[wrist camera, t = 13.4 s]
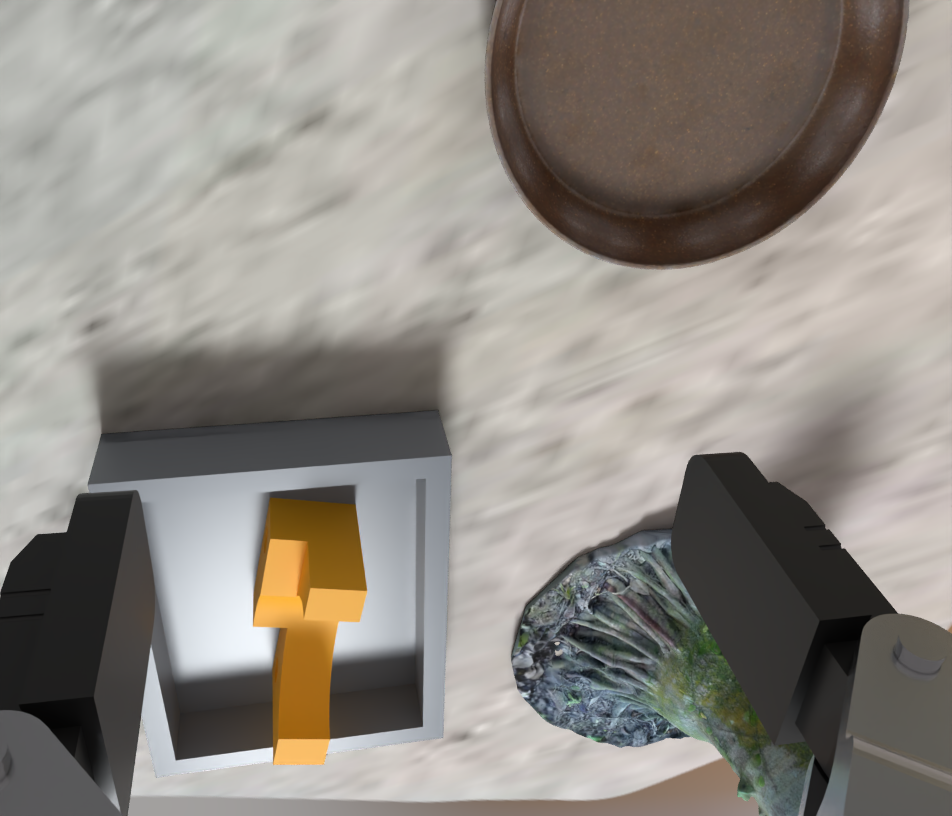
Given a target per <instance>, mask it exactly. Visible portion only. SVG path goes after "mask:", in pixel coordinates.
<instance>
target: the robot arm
mask: <svg viewBox="0 0 952 816" xmlns="http://www.w3.org/2000/svg"><path fill="white" fill-rule="evenodd" d="M671 552H672V559H673V563H674V566H675V569H676V572H677V574H678V576H679V578H680V579H681V581H682V583H683V585H684V586H685V588H686V590H687V592H688V593H689V595H690V597H691V599H692V601H693V602H694V604H695V606H696V608H697V609H698V611H699V613H700V615H701V617H702V618H703V620H704V622H705V624H706V625H707V627H708V629H709V631H710V632H711V634H712V636H713V638H714V640H715V641H716V643H717V645H718V647H719V648H720V650H721V652H722V654H723V656H724V657H725V659H726V661H727V663H728V664H729V666H730V668H731V670H732V671H733V673H734V675H735V677H736V679H737V680H738V682H739V684H740V686H741V687H742V689H743V691H744V693H745V695H746V696H747V698H748V700H749V702H750V703H751V705H752V707H753V709H754V710H755V712H756V714H757V716H758V718H759V719H760V721H761V723H762V725H763V726H764V728H765V730H766V732H767V734H768V735H769V737H770V739H771V741H772V742H773V744H774V746H776V745H784V744H791V743H798V742H805V741H806V742H807V744H808V746H809V747H810V749H811V751H812V752H813V756H812V758H811V761H810V763H809V766H808V769H807V773H806V778H805V783H804V788H803V794H802V799H801V804H800V809H799V814H798V816H952V634H951V633H950V632H948V631H947V630H945V629H943V628H942V627H940V626H938V625H936V624H934V623H932V622H930V621H927V620H924V619H922V618H918V617H915V616H911V615H905V614H898V613H897V612H896V610H895V609H894V608H893V607H892V606H891V604H890V603H889V602H888V601H887V599H886V598H885V597H884V596H883V595H882V593H881V592H880V591H879V590H878V588H877V587H876V586H875V585H874V584H873V582H872V581H871V580H870V579H869V577H868V576H867V575H866V574H865V573H864V571H863V570H862V569H861V568H860V566H859V565H858V564H857V563H856V562H855V560H854V559H853V558H852V557H851V555H850V554H849V553H848V552H847V551H846V549H842V548H841V543H840V542H839V541H838V540H837V538H836V537H835V536H834V535H833V534H832V532H831V531H830V530H829V529H828V530H826V528H825V524H824V523H823V521H822V520H821V519H820V518H819V516H818V515H817V514H816V513H815V512H814V510H813V509H812V508H811V507H810V505H809V504H808V503H807V502H806V501H805V500H803V499H802V498H800V497H799V496H797V495H796V494H794V493H793V492H791V491H790V490H788V489H787V488H786V487H784V486H783V485H781V484H780V483H778V482H769V483H768V481H767V480H766V479H765V477H764V476H763V475H762V474H761V472H760V471H759V470H758V468H757V467H756V466H755V465H754V463H753V462H752V461H751V460H750V458H749V457H748V456H747V455H746V454H744V453H742V452H733V453H717V454H702V455H694V456H693V457H691V459H690V460H689V462H688V464H687V468H686V472H685V476H684V480H683V485H682V489H681V494H680V498H679V502H678V507H677V511H676V516H675V520H674V524H673V529H672V534H671ZM0 595H1V596H0V816H127V815H128V808H129V801H130V794H131V786H132V779H133V772H134V765H135V757H136V750H137V743H138V735H139V728H140V721H141V713H142V706H143V699H144V692H145V684H146V677H147V670H148V662H149V655H150V648H151V640H152V633H153V626H154V617H155V586H154V576H153V569H152V563H151V557H150V551H149V545H148V539H147V533H146V526H145V520H144V514H143V508H142V502H141V498H140V495H139V492H138V491H137V490H128V491H113V492H98V493H82V494H79V495H78V496H77V498H76V501H75V505H74V508H73V512H72V516H71V519H70V523H69V526H68V530H67V532H64V533H51V534H37V535H36V536H35V537H34V538H33V539H32V540H31V541H30V542H29V544H28V545H27V546H26V547H25V548H24V549H23V550H22V551H21V552H20V553H19V554H18V555H17V556H16V557H15V558H14V559H13V560H12V561H11V563H10V566H9V569H8V572H7V575H6V577H5V580H4V583H3V586H2V589H1V592H0Z"/></svg>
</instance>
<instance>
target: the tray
mask: <svg viewBox="0 0 952 816" xmlns="http://www.w3.org/2000/svg"><path fill="white" fill-rule="evenodd" d="M451 462H452V455H451V452H450V448H449V445H448V442H447V438H446V435H445V432H444V428H443V425H442V422H441V418H440V415H439V412H438V410H436V411H422V412H408V413H394V414H380V415H366V416H352V417H337V418H323V419H309V420H295V421H281V422H267V423H253V424H239V425H225V426H210V427H196V428H182V429H168V430H154V431H140V432H126V433H112V434H101V438H100V442H99V445H98V449H97V452H96V456H95V460H94V463H93V467H92V471H91V474H90V478H89V481H88V489H89V493H98V492H113V491H128V490H137V491H138V492H139V495H140V498H141V502H142V508H143V514H144V520H145V526H146V533H147V539H148V545H149V551H150V557H151V563H152V569H153V576H154V586H155V617H154V626H153V633H152V640H151V648H150V655H149V662H148V670H147V677H146V684H145V692H144V699H143V706H142V713H141V716H142V720H143V725H144V729H145V733H146V737H147V742H148V746H149V750H150V755H151V759H152V763H153V767H154V772H155V776H156V778H157V777H165V776H172V775H179V774H186V773H193V772H201V771H208V770H215V769H222V768H230V767H237V766H244V765H251V764H258V763H266V762H273V685H272V668H273V662H274V657H275V652H276V647H277V642H278V637H279V632H280V628H273V627H253V593H254V587H255V582H256V576H257V570H258V564H259V558H260V553H261V547H262V541H263V535H264V529H265V523H266V518H267V512H268V506H269V500H270V498H282V499H294V500H306V501H319V502H331V503H343V504H355V505H356V511H357V518H358V525H359V533H360V540H361V548H362V555H363V562H364V570H365V577H366V585H367V595H366V599H365V603H364V607H363V611H362V615H361V619H360V622H340V621H339V624H338V628H337V633H336V639H335V645H334V652H333V660H332V670H331V682H330V702H329V727H330V742H329V746H328V750H327V754H330V753H338V752H345V751H352V750H359V749H366V748H374V747H381V746H388V745H395V744H403V743H410V742H417V741H424V740H431V739H439V738H443V731H444V697H445V663H446V630H447V596H448V562H449V529H450V495H451Z"/></svg>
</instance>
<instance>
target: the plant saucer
mask: <svg viewBox="0 0 952 816" xmlns="http://www.w3.org/2000/svg"><path fill="white" fill-rule="evenodd" d="M908 18H909V0H497V1H496V4H495V7H494V11H493V15H492V19H491V23H490V28H489V34H488V40H487V50H486V58H485V95H486V105H487V113H488V119H489V125H490V129H491V133H492V137H493V141H494V144H495V147H496V150H497V153H498V155H499V158H500V160H501V163H502V165H503V167H504V170H505V172H506V174H507V176H508V178H509V180H510V182H511V183H512V185H513V187H514V189H515V190H516V192H517V193H518V195H519V196H520V198H521V199H522V201H523V202H524V203H525V204H526V206H527V207H528V208H529V210H530V211H531V212H532V213H533V214H534V215H535V217H536V218H537V219H538V220H539V221H540V222H541V223H542V224H543V225H545V226H546V227H547V228H548V229H549V230H550V231H552V232H553V233H554V234H555V235H557V236H558V237H559V238H561V239H562V240H563V241H565V242H566V243H568V244H570V245H571V246H573V247H574V248H576V249H578V250H580V251H582V252H584V253H586V254H588V255H590V256H593V257H595V258H597V259H600V260H603V261H606V262H609V263H613V264H617V265H621V266H626V267H632V268H640V269H657V270H665V269H681V268H687V267H693V266H699V265H703V264H707V263H712V262H715V261H718V260H720V259H723V258H727V257H730V256H732V255H735V254H738V253H740V252H743V251H745V250H747V249H749V248H751V247H753V246H755V245H757V244H759V243H761V242H763V241H765V240H767V239H768V238H770V237H772V236H773V235H775V234H777V233H779V232H780V231H781V230H783V229H784V228H786V227H787V226H788V225H790V224H791V223H793V222H794V221H795V220H797V219H798V218H799V217H800V216H801V215H803V214H804V213H806V212H807V211H808V210H809V209H810V208H811V207H812V206H813V205H814V204H815V203H817V202H818V201H819V200H820V199H821V198H822V197H823V196H824V195H825V193H826V192H827V191H828V190H829V189H830V188H831V187H832V186H833V185H834V184H835V183H836V182H837V181H838V179H839V178H840V177H841V176H842V175H843V173H844V172H845V171H846V170H847V168H848V167H849V166H850V165H851V163H852V162H853V161H854V159H855V158H856V156H857V155H858V153H859V152H860V150H861V149H862V147H863V146H864V144H865V143H866V141H867V139H868V138H869V136H870V134H871V133H872V131H873V129H874V127H875V125H876V124H877V121H878V119H879V117H880V115H881V114H882V111H883V109H884V106H885V104H886V102H887V100H888V97H889V95H890V92H891V90H892V87H893V85H894V82H895V78H896V75H897V72H898V69H899V65H900V61H901V57H902V53H903V48H904V43H905V38H906V31H907V23H908Z"/></svg>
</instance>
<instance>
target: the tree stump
mask: <svg viewBox="0 0 952 816" xmlns="http://www.w3.org/2000/svg"><path fill="white" fill-rule="evenodd" d="M671 534H672V529H662V530H645V531H640V532H638V533H636V534H634V535H632V536H630V537H628V538H626V539H624V540H622V541H620V542H618V543H616V544H614V545H611V546H607V547H602V548H598V549H596V550H593V551H591V552H589V553H587V554H584V555H581V556H579V557H578V558H576V559H575V560H574V561H573V562H572V563H571V564H570V565H569V566H568V567H567V568H566V569H565V570H564V571H563V572H562V573H561V574H559V575H558V576H557V577H556V578H555V579H554V580H553V581H552V582H551V583H550V584H549V585H548V586H547V587H546V588H545V589H544V590H542V591H541V592H540V593H539V594H538V595H537V596H536V597H535V598H534V599H533V600H532V601H531V602H530V603H529V604H528V605H527V606H526V608H525V611H524V615H523V618H522V621H521V625H520V628H519V632H518V635H517V638H516V642H515V645H514V649H513V652H512V656H511V662H512V667H513V671H514V676H515V679H516V683H517V689H518V690H519V692H520V693H521V695H522V696H523V698H524V699H525V700H526V701H527V702H528V703H529V704H530V705H531V706H532V707H533V708H534V709H535V710H536V712H537V713H538V714H539V715H540V716H541V717H542V718H543V719H544V720H546V721H547V722H548V723H550V724H552V725H555V726H557V727H560V728H564V729H570V730H572V731H574V732H575V733H577V734H579V735H582V736H584V737H587V738H591V739H593V740H594V741H596V742H600V743H609V744H612V745H615V746H617V747H621V748H622V747H625V746H632V747H641V746H645V745H648V744H651V743H654V742H658V741H661V740H664V739H665V738H678V739H681V738H683V737H693V738H695V739H698V740H702V741H705V742H709V743H711V744H713V745H714V746H715V747H716V748H717V750H718V751H719V752H720V754H721V755H722V756H723V757H724V758H725V759H726V760H727V762H728V763H729V764H730V765H731V767H732V769H733V771H734V772H735V773H736V774H737V775H738V776H739V778H740V782H739V784H738V794H737V795H738V797H742V798H743V799H744V800H746V801H748V800H749V798H750V797H751V796H753V797H754V798H755V800H756V801H757V803H758V805H759V815H760V816H798V814H799V809H800V804H801V799H802V794H803V788H804V783H805V778H806V773H807V769H808V766H809V763H810V761H811V758H812V756H813V752H812V751H811V749H810V747H809V746H808V744H807V742H806V741H805V742H798V743H791V744H784V745H776V746H774V744H773V742H772V741H771V739H770V737H769V735H768V734H767V732H766V730H765V728H764V726H763V725H762V723H761V721H760V719H759V718H758V716H757V714H756V712H755V710H754V709H753V707H752V705H751V703H750V702H749V700H748V698H747V696H746V695H745V693H744V691H743V689H742V687H741V686H740V684H739V682H738V680H737V679H736V677H735V675H734V673H733V671H732V670H731V668H730V666H729V664H728V663H727V661H726V659H725V657H724V656H723V654H722V652H721V650H720V648H719V647H718V645H717V643H716V641H715V640H714V638H713V636H712V634H711V632H710V631H709V629H708V627H707V625H706V624H705V622H704V620H703V618H702V617H701V615H700V613H699V611H698V609H697V608H696V606H695V604H694V602H693V601H692V599H691V597H690V595H689V593H688V592H687V590H686V588H685V586H684V585H683V583H682V581H681V579H680V578H679V576H678V574H677V572H676V569H675V566H674V563H673V559H672V552H671ZM555 642H560V644H559V645H557V646H556V645H555V644H554V643H555ZM560 649H562V650H563V653H562V655H560V656H556V655H555V650H556V651H559V650H560Z"/></svg>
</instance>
